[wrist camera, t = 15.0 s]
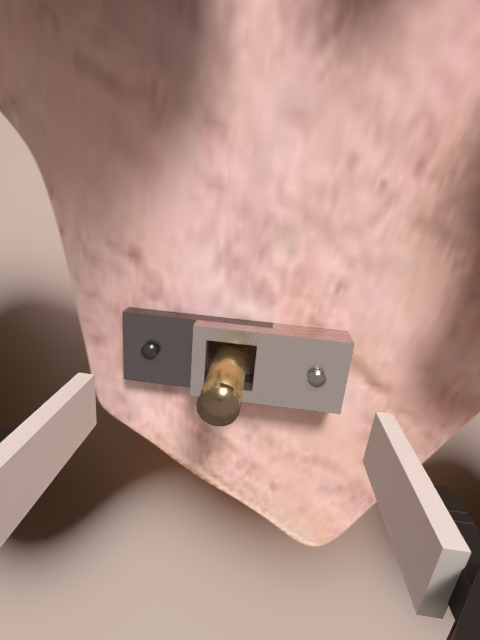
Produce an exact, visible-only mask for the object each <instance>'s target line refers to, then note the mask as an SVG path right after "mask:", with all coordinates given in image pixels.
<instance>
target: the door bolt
mask: <svg viewBox="0 0 480 640" xmlns="http://www.w3.org/2000/svg"><path fill="white" fill-rule="evenodd" d="M211 341H219V342H228V343H236V344H245V345H254V346H257V351H256V360H255V370H254V376H250V375H245V380H244V386H243V392H242V399H241V402H246V403H254V404H262V405H270V406H278V407H286V408H295V409H303V410H311V411H319V412H327V413H335V414H340V413H341V408H342V403H343V398H344V393H345V388H346V383H347V378H348V373H349V368H350V363H351V358H352V353H353V348H354V342H353V340H352V338H351V337H350V335H349V334H348V332H347V331H340V330H331V329H322V328H312V327H303V326H294V325H285V324H276V323H267V322H258V321H249V320H240V319H231V318H222V317H213V316H203V315H194V314H185V313H176V312H167V311H158V310H149V309H140V308H131V307H129V308H128V309H126V310H125V311H123V355H124V379H127V380H135V381H143V382H151V383H160V384H168V385H176V386H184V387H190V396H197V397H199V395H200V393H201V390H202V387H203V385H204V382H205V380H206V377H207V375H208V372H209V369H210V354H211Z"/></svg>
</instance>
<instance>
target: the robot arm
mask: <svg viewBox="0 0 480 640" xmlns="http://www.w3.org/2000/svg"><path fill="white" fill-rule="evenodd" d="M95 425H96V401H95V376H94V375H93V374H85V373H78V374H77V375H75V377H73V378H72V379H71V380H70V381H69V382H68V383H67V384H66V385H64V386H63V387H62V388H61V389H60V390H59V391H58V392H57V393H55V395H53V396H52V397H51V398H50V399H49V400H48V401H47V402H45V403H44V404H43V405H42V406H41V407H40V408H39V409H38V410H36V411H35V412H34V413H33V414H32V415H31V416H30V417H29V418H28V419H27V420H25V421H24V422H23V423H22V424H21V425H20V426H19V427H11V426H9V427H7V428H5V429H3V430H1V431H0V547H1V546H2V545H3V543H4V542H5V541H6V539H7V538H8V537H9V536H10V534H11V533H12V532H13V530H14V529H15V528H16V526H17V525H18V524H19V522H20V521H21V520H22V519H23V518H24V516H25V515H26V514H27V512H28V511H29V510H30V509H31V507H32V506H33V505H34V503H35V502H36V501H37V500H38V498H39V497H40V496H41V494H42V493H43V492H44V491H45V489H46V488H47V487H48V486H49V484H50V483H51V482H52V480H53V479H54V478H55V477H56V475H57V474H58V473H59V471H60V470H61V469H62V468H63V466H64V465H65V464H66V462H67V461H68V460H69V459H70V457H71V456H72V455H73V453H74V452H75V451H76V450H77V448H78V447H79V446H80V445H81V443H82V442H83V440H84V439H85V438H86V437H87V436H88V434H89V433H90V432H91V430H92V429H93V428H94V427H95ZM363 463H364V466H365V469H366V471H367V474H368V477H369V480H370V483H371V486H372V489H373V491H374V494H375V497H376V500H377V503H378V506H379V508H380V511H381V514H382V517H383V520H384V522H385V526H386V528H387V531H388V534H389V537H390V540H391V543H392V545H393V548H394V551H395V554H396V557H397V560H398V562H399V565H400V568H401V571H402V574H403V577H404V579H405V583H406V585H407V588H408V591H409V594H410V597H411V600H412V603H413V605H414V608H415V611H416V614H417V615H422V616H429V617H435V618H443V616H444V614H445V612H446V610H447V607H448V605H449V607H450V609H451V612H452V614H453V616H454V618H455V622H454V624H453V626H452V629H451V631H450V633H449V635H448V637H447V640H480V531H479V530H478V528H477V526H476V525H474V522H473V520H472V518H471V517H470V515H469V514H467V510H466V509H465V507H464V506H463V504H462V503H461V501H460V499H459V498H458V497H457V496H456V495H455V494H454V493H453V492H451V491H450V490H449V489H448V488H447V487H444V486H437V485H433V484H432V482H431V480H430V479H429V477H428V475H427V473H426V472H425V470H424V468H423V466H422V464H421V463H420V461H419V459H418V457H417V456H416V454H415V452H414V450H413V449H412V447H411V445H410V443H409V442H408V440H407V438H406V436H405V435H404V433H403V431H402V429H401V427H400V426H399V424H398V422H397V420H396V419H395V417H394V415H393V414H388V413H380V412H376V413H375V417H374V421H373V425H372V428H371V432H370V436H369V440H368V443H367V447H366V451H365V455H364V459H363Z"/></svg>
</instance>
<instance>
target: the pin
mask: <svg viewBox="0 0 480 640" xmlns="http://www.w3.org/2000/svg"><path fill="white" fill-rule="evenodd" d="M248 355H249V352H248V348H247V346H246V345H245V344H236V343H228V342H221V343H220V345H219V346H218V349H217V351H216V354H215V356H214V359H213V362H212V364H211V367H210V369H209V372H208V375H207V377H206V380H205V382H204V385H203V387H202V390H201V393H200V395H199V398H198V400H197V411H198V414H199V415H200V417H201V418H202V419H203V420H204V421H205V422H207V423H208V424H211V425H214V426H226V425H228V424H231V423H232V422H233V421H235V420H236V418H237V417H238V415H239V411H240V405H241V399H242V392H243V386H244V380H245V374H246V367H247V361H248Z"/></svg>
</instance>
